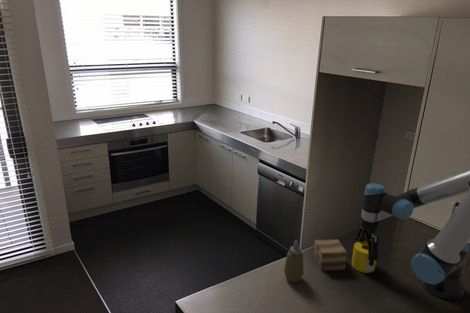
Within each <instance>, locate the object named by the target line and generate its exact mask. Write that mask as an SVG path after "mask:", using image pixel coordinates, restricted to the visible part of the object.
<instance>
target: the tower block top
mask: <svg viewBox="0 0 470 313" xmlns="http://www.w3.org/2000/svg"><path fill="white" fill-rule="evenodd" d="M314 250H315V252H316V253H317V255H318V257H319V259H320V260H321V262H342V261H346V262H347V258H348V257H347V255H348V252H347V250H346V249H345V247H344V246H343V245H342V243H341V242H340V241H339V239H337V238H335V239H314V242H313V251H314Z"/></svg>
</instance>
